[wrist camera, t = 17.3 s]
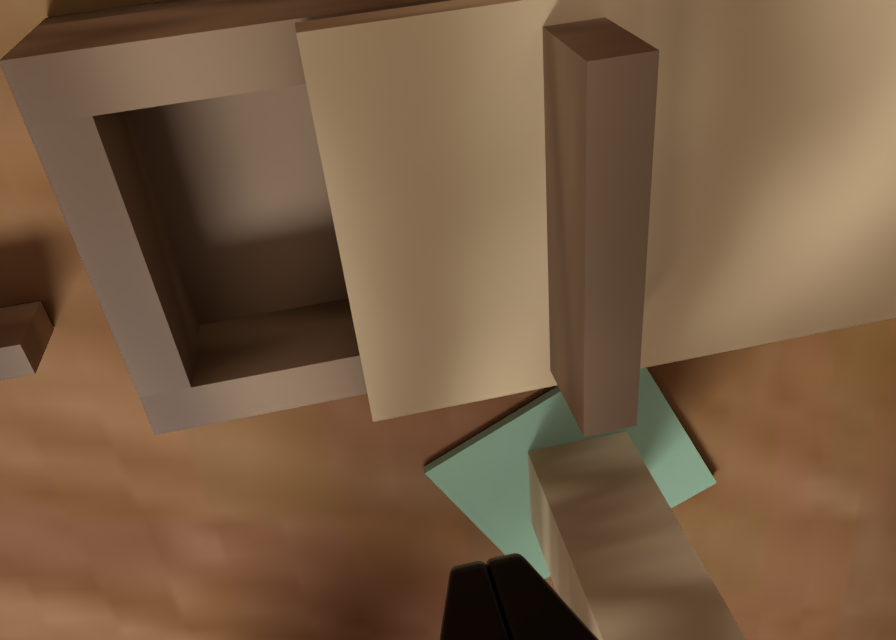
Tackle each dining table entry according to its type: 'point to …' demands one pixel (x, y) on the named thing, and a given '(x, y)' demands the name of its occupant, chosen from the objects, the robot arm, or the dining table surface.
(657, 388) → the felt pad
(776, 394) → the dining table surface
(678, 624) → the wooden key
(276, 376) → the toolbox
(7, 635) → the dining table surface
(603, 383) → the lid
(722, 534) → the dining table surface
